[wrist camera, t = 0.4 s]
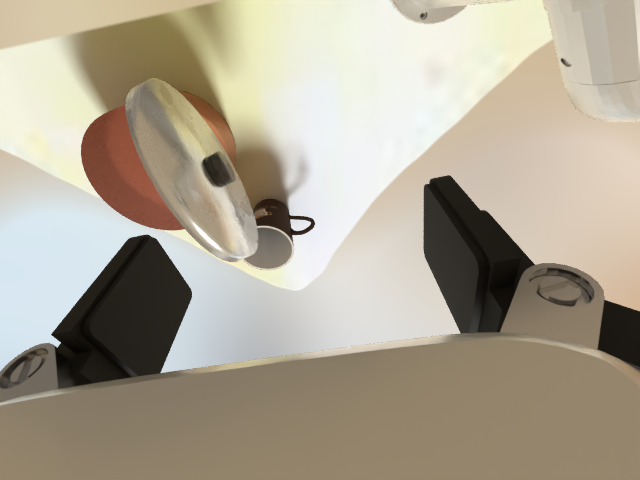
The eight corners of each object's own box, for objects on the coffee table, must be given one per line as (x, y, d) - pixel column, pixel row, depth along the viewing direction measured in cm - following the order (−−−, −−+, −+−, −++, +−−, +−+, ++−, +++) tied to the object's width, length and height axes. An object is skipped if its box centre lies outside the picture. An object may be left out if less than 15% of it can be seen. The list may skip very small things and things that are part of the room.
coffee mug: (248, 232, 56) (238, 268, 48) (246, 191, 51) (235, 223, 43) (309, 236, 57) (310, 272, 49) (314, 196, 52) (316, 229, 44)
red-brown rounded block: (195, 68, 40) (163, 83, 31) (255, 172, 49) (244, 206, 40) (101, 117, 43) (48, 143, 34) (173, 206, 52) (147, 244, 43)
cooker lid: (163, 76, 30) (187, 63, 30) (248, 209, 40) (267, 200, 40) (81, 105, 16) (125, 82, 16) (243, 299, 26) (272, 286, 26)
